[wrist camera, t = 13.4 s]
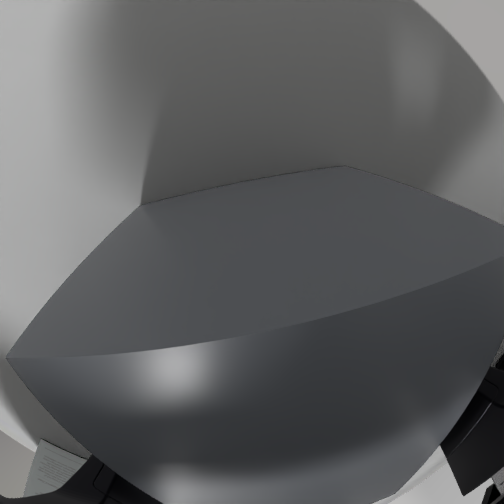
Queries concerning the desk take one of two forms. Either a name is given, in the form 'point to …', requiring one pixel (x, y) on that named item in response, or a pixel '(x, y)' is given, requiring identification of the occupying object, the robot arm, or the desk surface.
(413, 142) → the desk surface
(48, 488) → the small box
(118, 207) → the desk surface
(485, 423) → the robot arm
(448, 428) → the large grey box
